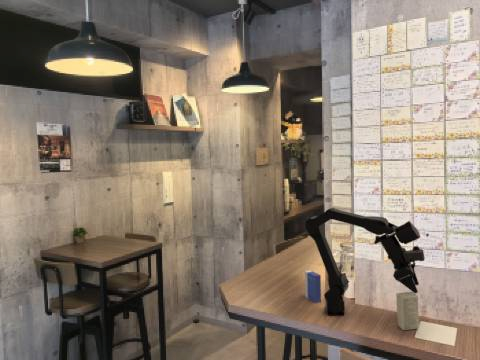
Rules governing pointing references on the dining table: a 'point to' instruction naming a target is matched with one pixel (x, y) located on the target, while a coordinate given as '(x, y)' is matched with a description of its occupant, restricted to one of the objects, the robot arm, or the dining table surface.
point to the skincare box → (407, 310)
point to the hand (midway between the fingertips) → (417, 288)
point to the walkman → (313, 286)
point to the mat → (436, 333)
